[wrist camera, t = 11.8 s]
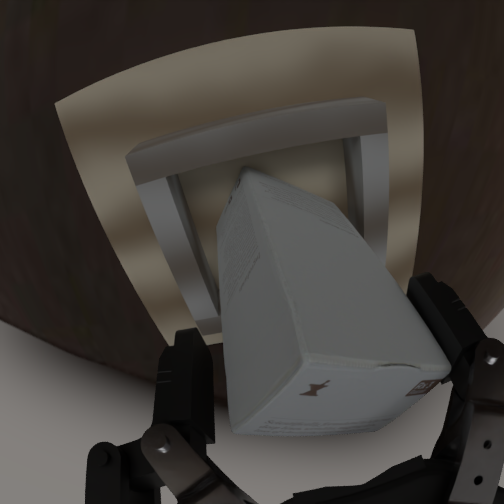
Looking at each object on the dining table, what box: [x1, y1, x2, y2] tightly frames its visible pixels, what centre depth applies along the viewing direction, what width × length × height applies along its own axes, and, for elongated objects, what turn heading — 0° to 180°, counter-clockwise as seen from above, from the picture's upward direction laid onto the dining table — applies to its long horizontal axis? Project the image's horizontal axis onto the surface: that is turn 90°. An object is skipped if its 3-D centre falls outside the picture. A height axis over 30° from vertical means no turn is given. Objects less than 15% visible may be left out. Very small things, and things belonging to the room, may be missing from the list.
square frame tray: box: [55, 27, 423, 346], centre depth 17 cm, size 20×20×4 cm
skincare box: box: [216, 166, 451, 436], centre depth 12 cm, size 6×4×12 cm
